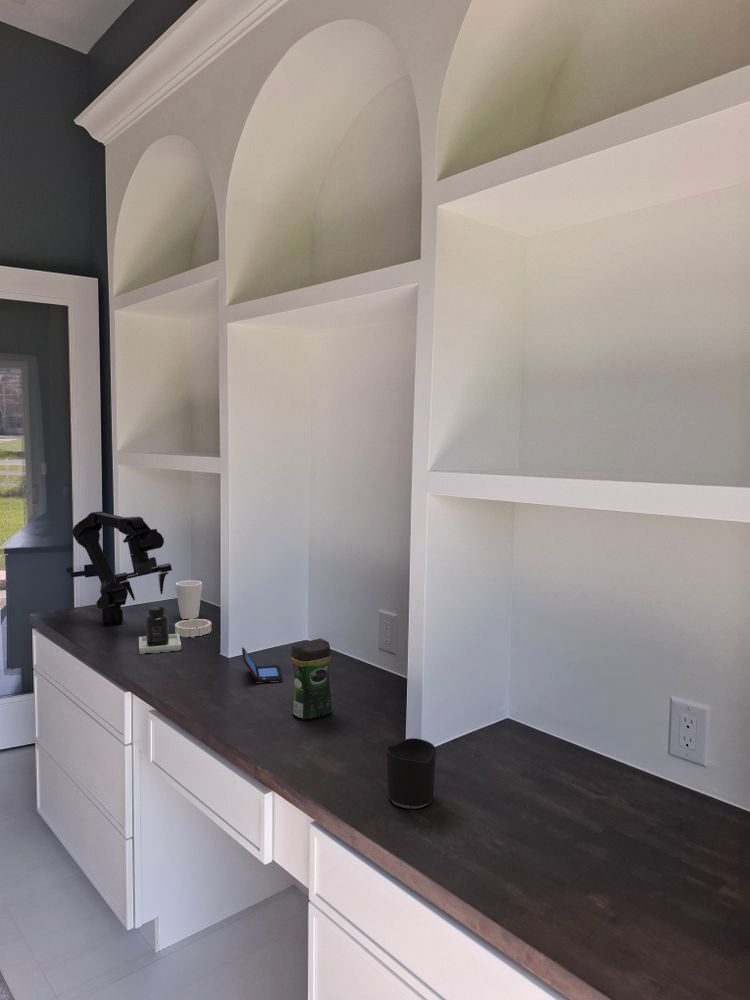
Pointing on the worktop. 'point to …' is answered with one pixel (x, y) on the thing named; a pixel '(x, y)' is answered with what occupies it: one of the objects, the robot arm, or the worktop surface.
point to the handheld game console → (262, 670)
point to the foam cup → (189, 598)
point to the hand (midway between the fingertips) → (148, 597)
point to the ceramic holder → (193, 627)
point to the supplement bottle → (157, 627)
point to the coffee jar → (311, 679)
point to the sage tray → (172, 646)
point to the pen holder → (411, 772)
